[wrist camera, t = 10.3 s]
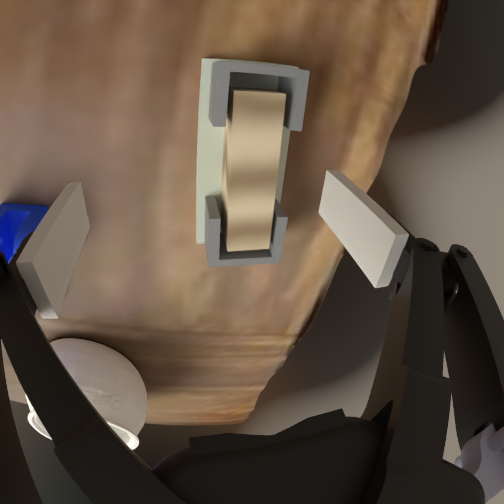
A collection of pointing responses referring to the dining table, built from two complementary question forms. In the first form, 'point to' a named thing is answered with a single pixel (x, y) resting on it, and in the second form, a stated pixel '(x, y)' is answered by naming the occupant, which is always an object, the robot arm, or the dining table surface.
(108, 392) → the pot
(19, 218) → the bracket
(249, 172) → the tan long curved block
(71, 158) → the dining table surface
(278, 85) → the bracket board
